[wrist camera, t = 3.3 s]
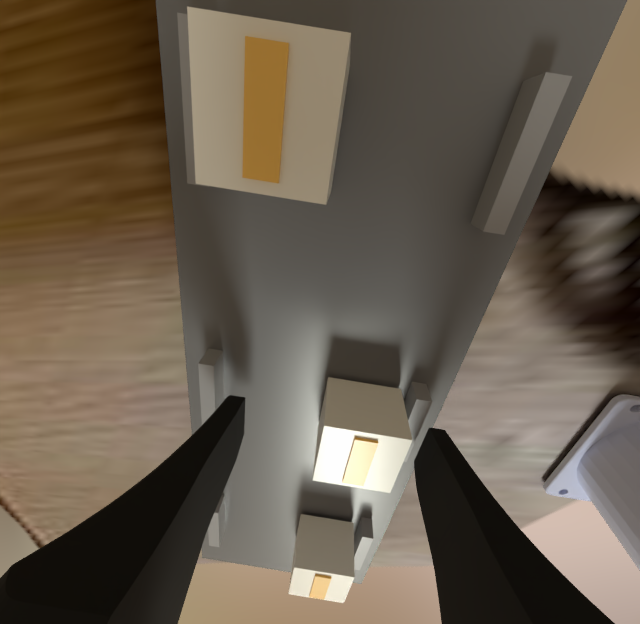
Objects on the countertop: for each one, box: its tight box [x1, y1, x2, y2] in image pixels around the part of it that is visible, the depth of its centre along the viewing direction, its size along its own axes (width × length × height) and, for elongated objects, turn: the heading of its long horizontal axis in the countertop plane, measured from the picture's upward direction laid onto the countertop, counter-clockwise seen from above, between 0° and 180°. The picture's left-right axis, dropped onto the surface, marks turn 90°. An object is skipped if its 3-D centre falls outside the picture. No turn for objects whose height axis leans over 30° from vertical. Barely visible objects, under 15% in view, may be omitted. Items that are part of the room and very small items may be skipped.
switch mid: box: [313, 377, 412, 493], centre depth 12 cm, size 3×3×3 cm
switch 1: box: [187, 7, 351, 205], centre depth 7 cm, size 3×3×3 cm
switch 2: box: [289, 514, 355, 603], centre depth 17 cm, size 3×3×3 cm
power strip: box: [156, 0, 627, 584], centre depth 14 cm, size 11×32×4 cm, turn 172°
